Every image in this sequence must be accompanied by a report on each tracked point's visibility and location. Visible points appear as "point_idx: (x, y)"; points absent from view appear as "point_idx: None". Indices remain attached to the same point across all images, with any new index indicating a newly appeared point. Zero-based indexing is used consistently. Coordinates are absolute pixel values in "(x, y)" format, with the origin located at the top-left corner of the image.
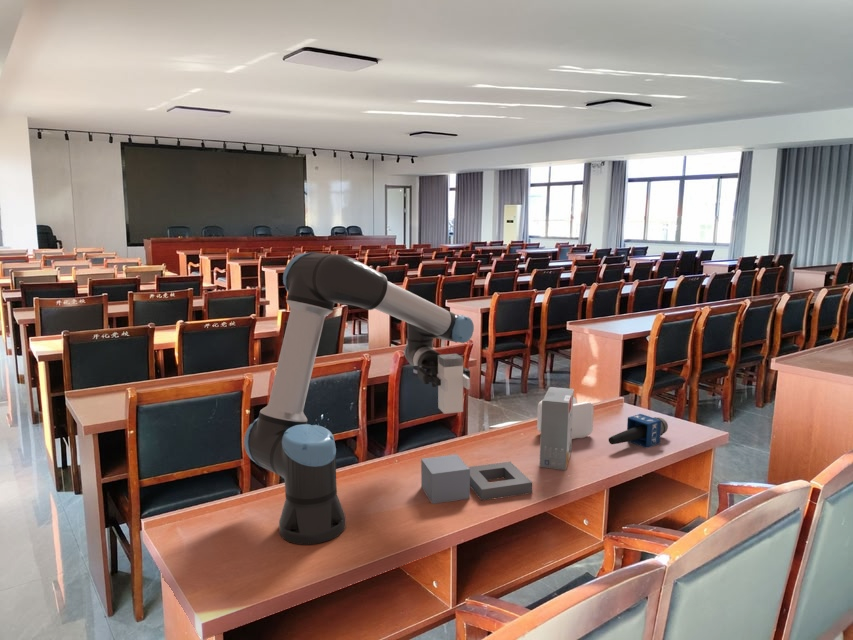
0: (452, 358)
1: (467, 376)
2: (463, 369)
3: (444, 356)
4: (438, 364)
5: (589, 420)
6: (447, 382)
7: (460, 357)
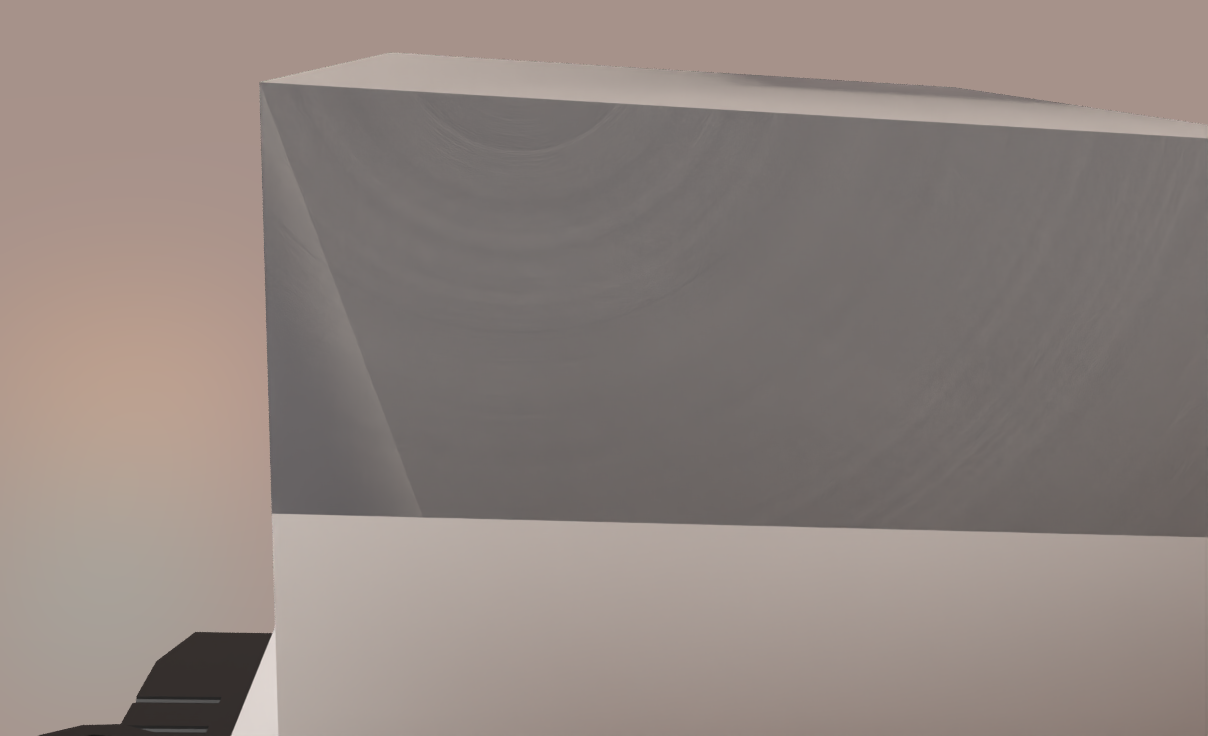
0: (705, 72)
1: (163, 689)
2: (75, 727)
3: (963, 103)
4: (1192, 563)
5: None
6: None
7: (436, 59)
